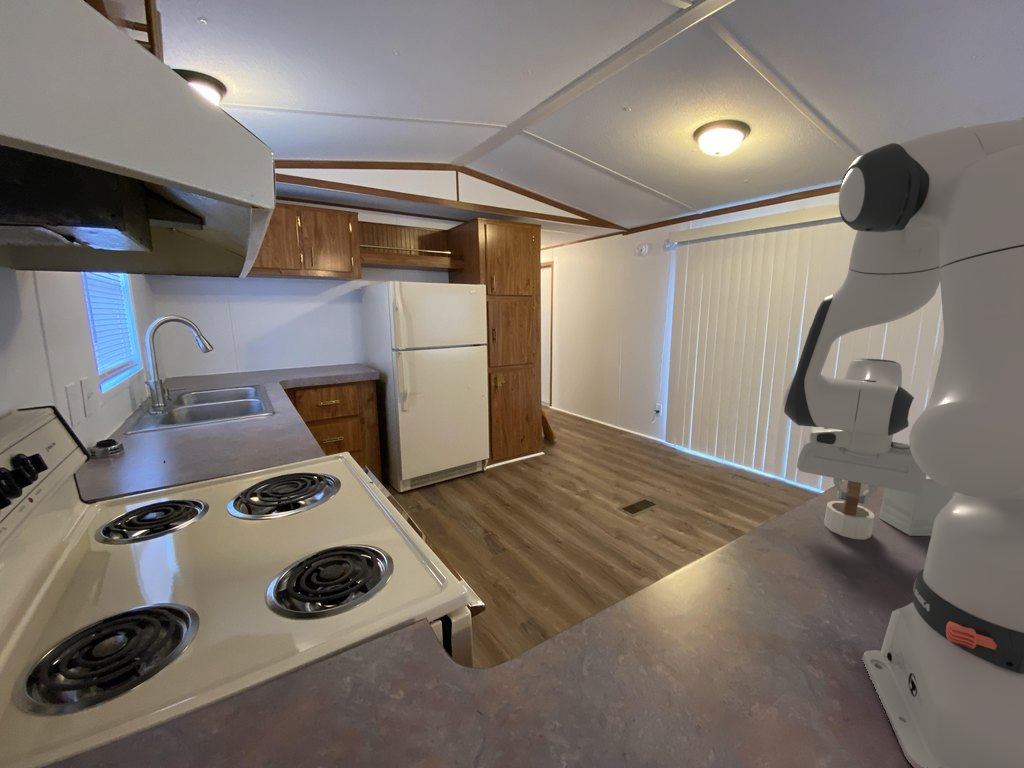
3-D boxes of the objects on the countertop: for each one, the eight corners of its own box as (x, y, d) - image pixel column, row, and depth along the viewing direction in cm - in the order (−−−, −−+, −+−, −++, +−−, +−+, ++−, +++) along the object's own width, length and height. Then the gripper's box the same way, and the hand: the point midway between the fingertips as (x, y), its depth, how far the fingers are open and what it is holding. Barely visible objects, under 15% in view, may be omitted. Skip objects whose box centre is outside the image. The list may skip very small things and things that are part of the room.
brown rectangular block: (854, 520, 84) (862, 475, 82) (843, 517, 85) (851, 473, 83) (853, 514, 86) (861, 470, 84) (842, 512, 87) (850, 468, 85)
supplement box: (945, 536, 83) (958, 479, 81) (908, 536, 83) (920, 479, 81) (911, 517, 90) (922, 464, 88) (877, 517, 91) (887, 464, 88)
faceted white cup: (872, 543, 81) (876, 523, 80) (824, 531, 85) (827, 511, 84) (868, 526, 87) (871, 507, 86) (823, 516, 91) (826, 497, 90)
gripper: (930, 443, 79) (917, 508, 81) (802, 425, 90) (793, 482, 93) (938, 452, 74) (923, 522, 76) (801, 432, 85) (792, 493, 88)
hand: (851, 500), depth 85 cm, fingers closed on brown rectangular block, 2 cm apart
